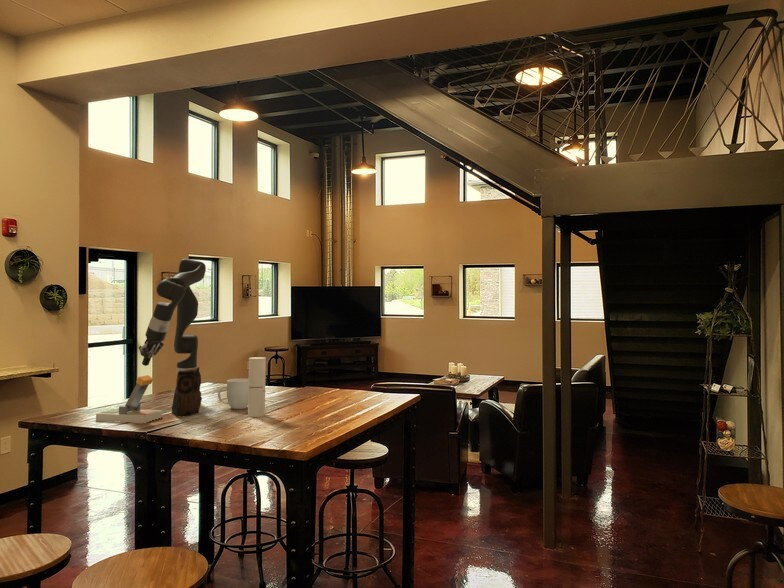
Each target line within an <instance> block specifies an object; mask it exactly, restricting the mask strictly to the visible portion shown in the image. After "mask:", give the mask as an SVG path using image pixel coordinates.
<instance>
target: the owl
mask: <svg viewBox="0 0 784 588" xmlns="http://www.w3.org/2000/svg"><path fill="white" fill-rule="evenodd" d="M175 382H176V383H175V388H174V393H173V398H172V405H171V414H173V415H175V416H176V417H178V416H181V417H182V418H183V416H184V417H190V416H192V415H193V416H194V415H197V414H199V413H200V409H201V408H200V407H201V404H202V400H203V399H202V392H201V385H202V374H201V372H200V367H198V366H197V368H194V369H187V370H183V371H179V372H178V374H177V373H176V381H175Z"/></svg>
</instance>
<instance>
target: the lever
mask: <svg viewBox="0 0 784 588" xmlns="http://www.w3.org/2000/svg"><path fill="white" fill-rule="evenodd" d="M153 381H154V378H153V377H151V376H149V375H142V376H138V377H137V379H136V381H135V383H136V384H135V385H134V387H133V390H132V392H131V394H130V396H129V397H128V399H127V401H126V403H125V405H124V406H128V407H127V412H130V411H133V410H136V409H137V406H138V404H139V403H141V400H142V398H143V396H145V392H146V391H147V389H148V387H149V385H151V384H152V383H153Z"/></svg>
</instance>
